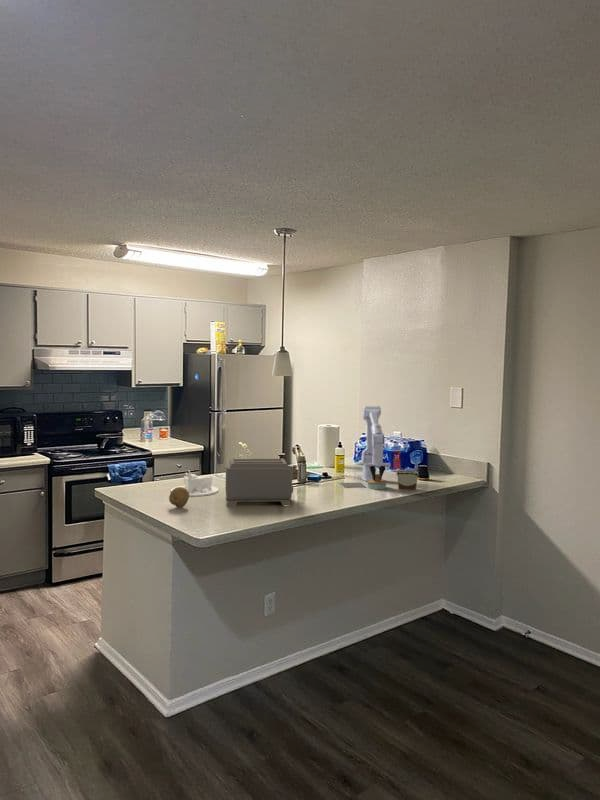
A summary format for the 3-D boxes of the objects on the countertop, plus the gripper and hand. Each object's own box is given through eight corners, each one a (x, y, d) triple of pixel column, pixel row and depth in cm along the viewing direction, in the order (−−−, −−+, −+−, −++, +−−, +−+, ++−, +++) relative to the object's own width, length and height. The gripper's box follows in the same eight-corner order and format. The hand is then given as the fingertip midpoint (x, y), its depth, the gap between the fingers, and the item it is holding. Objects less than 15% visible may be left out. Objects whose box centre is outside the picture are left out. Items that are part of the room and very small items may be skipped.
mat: (340, 483, 357) (340, 482, 357) (360, 483, 359) (360, 482, 359) (344, 487, 346) (344, 487, 346) (365, 487, 348) (365, 486, 347)
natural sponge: (173, 511, 286) (174, 489, 285) (165, 507, 293) (165, 486, 292) (192, 508, 291) (192, 487, 290) (183, 505, 298) (183, 484, 298)
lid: (364, 480, 352) (364, 473, 352) (383, 480, 354) (383, 472, 353) (370, 484, 341) (370, 476, 341) (389, 484, 343) (389, 476, 342)
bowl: (365, 485, 352) (365, 480, 351) (382, 485, 353) (383, 480, 353) (370, 489, 342) (370, 484, 342) (388, 489, 343) (388, 484, 343)
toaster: (298, 506, 301) (299, 464, 300) (226, 507, 296) (226, 464, 295) (293, 497, 320) (294, 457, 319) (225, 498, 315) (225, 458, 314)
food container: (417, 488, 349) (418, 470, 348) (418, 490, 342) (419, 472, 342) (395, 487, 350) (395, 469, 349) (395, 489, 344) (396, 471, 343)
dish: (175, 498, 313) (175, 476, 313) (167, 488, 337) (167, 467, 336) (223, 495, 322) (223, 473, 322) (211, 486, 346) (212, 465, 345)
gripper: (366, 456, 341) (366, 481, 342) (392, 456, 344) (391, 481, 344) (363, 454, 348) (362, 478, 349) (388, 454, 350) (387, 478, 351)
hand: (377, 479), depth 347 cm, fingers closed on lid, 3 cm apart
